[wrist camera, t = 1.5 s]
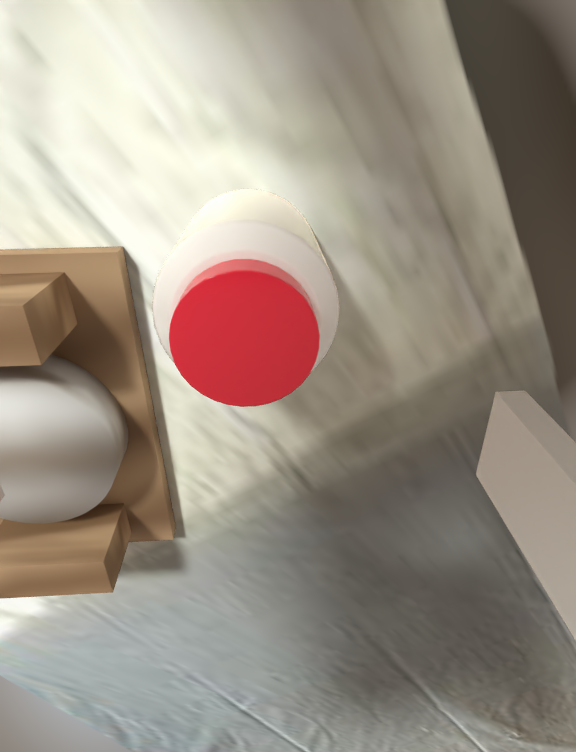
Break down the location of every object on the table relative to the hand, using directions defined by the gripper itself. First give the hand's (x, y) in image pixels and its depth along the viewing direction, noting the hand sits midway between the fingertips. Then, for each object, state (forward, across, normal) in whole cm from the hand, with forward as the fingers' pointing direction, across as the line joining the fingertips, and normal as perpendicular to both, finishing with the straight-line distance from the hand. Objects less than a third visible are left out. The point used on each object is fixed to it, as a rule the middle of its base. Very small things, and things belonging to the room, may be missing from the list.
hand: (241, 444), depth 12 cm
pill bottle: (+17, 0, 0) cm, 17 cm away
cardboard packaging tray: (+17, -14, -10) cm, 24 cm away
